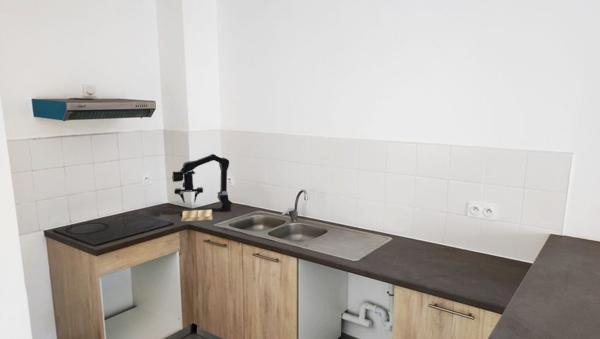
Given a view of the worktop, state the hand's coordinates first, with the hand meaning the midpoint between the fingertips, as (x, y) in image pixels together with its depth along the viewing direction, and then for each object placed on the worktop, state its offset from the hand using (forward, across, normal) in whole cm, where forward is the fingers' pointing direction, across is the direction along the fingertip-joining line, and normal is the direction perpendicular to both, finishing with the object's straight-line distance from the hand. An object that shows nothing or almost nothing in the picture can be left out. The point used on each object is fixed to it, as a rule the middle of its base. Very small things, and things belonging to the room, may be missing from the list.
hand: (189, 202), depth 285 cm
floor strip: (+10, -5, +10) cm, 15 cm away
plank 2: (+8, -10, +2) cm, 13 cm away
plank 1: (+8, 0, +2) cm, 9 cm away
